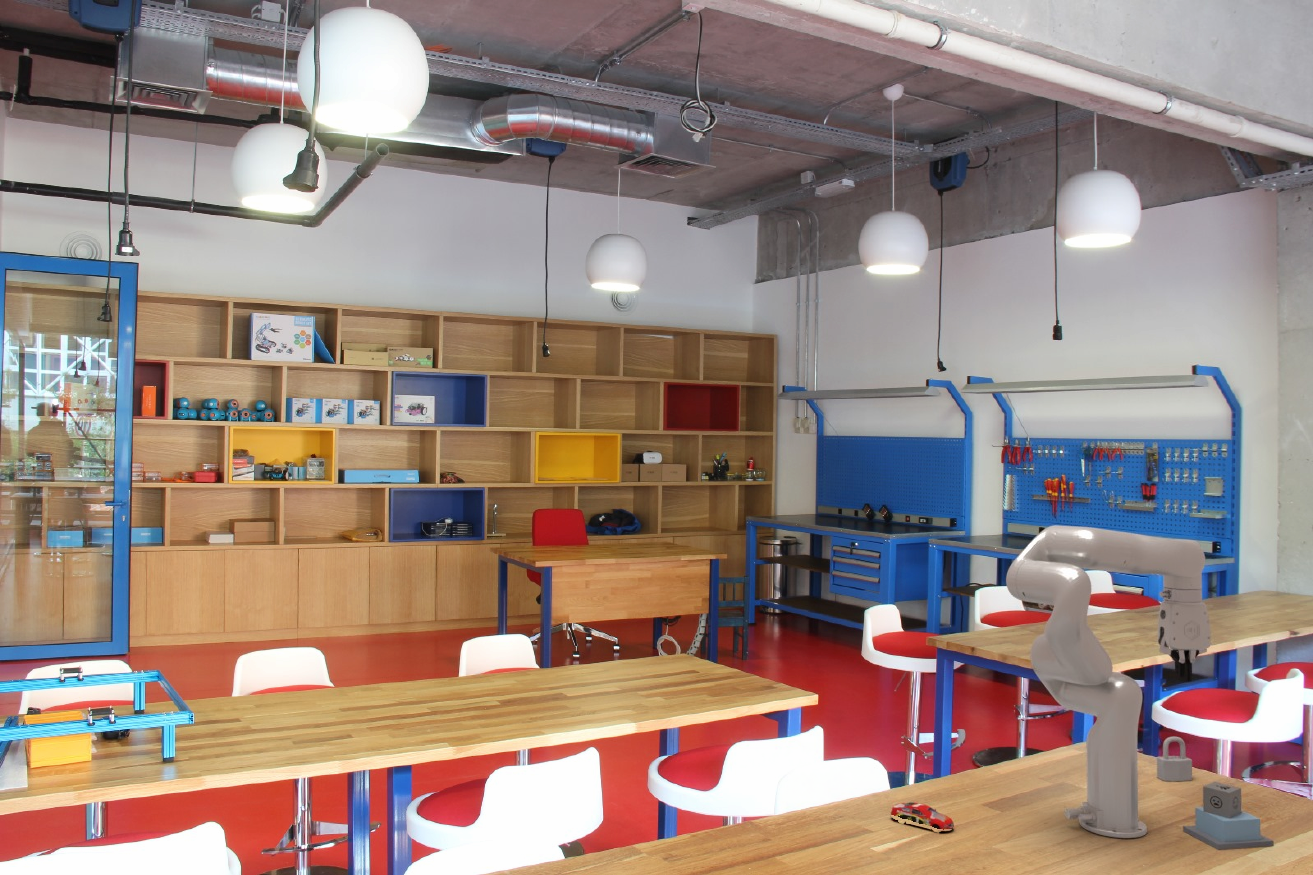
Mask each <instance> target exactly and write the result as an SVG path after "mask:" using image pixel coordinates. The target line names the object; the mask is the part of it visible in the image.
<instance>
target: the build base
mask: <svg viewBox="0 0 1313 875" xmlns="http://www.w3.org/2000/svg"><path fill="white" fill-rule="evenodd" d="M1194 810H1195V811H1194V812H1195V815H1194V816H1195V817H1194V818H1195V819H1194V820H1195V822H1194V823H1195V824H1194V825H1183V826H1182V827H1183V828H1182V830H1183V831H1182V832H1183V833H1186V834H1188V835H1190V836H1191V837H1193V838H1194V839H1195V838H1196V839H1197V840H1199V841H1201V842H1203V843H1205V844H1206V845H1208V846H1211V847H1212V848H1214V849H1215V850H1218V851H1219V850H1221V851H1222V850H1233V849H1234V850H1235V849H1250V848H1263V847H1265V848H1266V847H1274V845H1275V844H1274V843H1275V842H1274V840H1273V839H1270V838H1268V837H1267V836H1265V835H1263V834H1261V818H1259V817H1257V816H1255V815H1253V814H1250V813H1249V812H1246V811H1244V810H1242V809H1241V812H1242V813H1241V814H1239V815H1237V816H1235V817H1233V818H1230V819H1229V818H1225V817H1222V816H1218V815H1214V814H1210V813H1207V812H1203V806H1196V807H1195V808H1194Z"/></svg>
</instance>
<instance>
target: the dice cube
mask: <svg viewBox="0 0 1313 875" xmlns="http://www.w3.org/2000/svg"><path fill="white" fill-rule="evenodd" d="M1202 796H1203V798H1202V802H1203V803H1202V804H1203V806H1202V807H1203V812H1207V813H1210V814H1214V815H1218V816H1222V817H1225V818H1229V819H1230V818H1233V817H1235V816H1237V815H1239V814H1241V813H1242V812H1241V810H1242V787H1238V786H1234V785H1230V784H1226V783H1222V782H1218V781H1213V782H1211V783H1208V784H1205V785H1203V786H1202Z"/></svg>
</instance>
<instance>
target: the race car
mask: <svg viewBox="0 0 1313 875" xmlns="http://www.w3.org/2000/svg"><path fill="white" fill-rule="evenodd" d="M891 815H894V816H898V817H900V818H902V819H908V820H911V821H913V822H916V823H919V824H925V825H928V826H932V827H934V828H937V829H943V830H944V829H953V827H954V828H955V824H954V821H953V819H952V817H950V816H947V815H946V814H942V813H940V812H938V811H937V809H936V808H933V807H931V806H929V805H927V804H924V803H920V802H910V801H908V802H906V803H904V802H903V803H901V802H900V803H896V804H895V805H893V806H892V808H891V811H890V816H891ZM899 815H900V816H899ZM953 830H954V829H953Z"/></svg>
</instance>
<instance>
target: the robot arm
mask: <svg viewBox="0 0 1313 875" xmlns="http://www.w3.org/2000/svg"><path fill="white" fill-rule="evenodd" d="M1205 564H1206V556H1205V553H1204V550H1203V549H1202V547H1201V544H1200V543H1199V542H1198V541H1197V540H1195V539H1194V540H1193V539H1186V538H1185V539H1183V538H1180V539H1179V538H1177V539H1176V538H1175V539H1174V538H1173V539H1171V538H1166V537H1165V538H1163V537H1158V536H1157V537H1156V536H1151V535H1146V534H1140V533H1133V532H1125V531H1119V530H1111V529H1106V528H1105V529H1104V528H1096V527H1090V526H1089V527H1088V526H1076V525H1075V526H1074V525H1072V526H1071V525H1058V524H1055V525H1050V526H1048V527H1046V528H1045V529H1043V530H1041V531H1040V532H1039V533H1038V534H1037V535H1036V536H1035V537H1033V539H1032V540H1031V541H1030V542H1029V543H1028V544H1027V546H1026V547H1024V548H1023V550H1022V551H1021V552H1020V553H1019V555H1018V556H1017V557H1016V558H1015V559H1014V560H1013V562H1012V563H1011V565H1010V566H1009V567H1008V569H1007V573H1006V578H1005V580H1006V581H1005V583H1006V589H1007V590H1008V592H1009V593H1010V595H1011V596H1012V597H1014V598H1015V599H1017V600H1018V601H1022V602H1028V603H1035V604H1041V605H1047V606H1048V605H1050V606H1053V608H1052V612H1051V615H1050V617H1049V618H1048V619H1047V621H1046V623H1045V626H1044V630H1043V631H1044V633H1042V634H1040V635H1038V636H1037V637H1036V638H1035V639H1034V640H1033V642H1032V644H1031V646H1030V652H1029V654H1030V664H1031V667H1032V670H1033V672H1034V673H1035V674H1036V676H1037V678H1038V679H1039V680H1040V682H1041V683H1042V684H1043V686H1044V687H1045V688H1046V690H1047V691H1048V692H1049V694H1050V695H1051V696H1052V698H1054V700H1055V701H1056V702H1057V703H1058V704H1059V705H1060V706H1062V707H1063V708H1065V709H1067V710H1070V711H1074V712H1078V713H1082V714H1086V715H1090V716H1092V717H1096V721H1095V722H1094V724H1093V725H1092V726H1091V727H1090V729H1089V731H1088V733H1087V736H1086V742H1085V744H1086V799H1087V800H1086V801H1082V802H1081V806H1079V807H1078V808H1065V810H1064V815H1065V817H1066V819H1068V820H1071V819H1074V820H1075V819H1078V821H1079V825H1080V826H1081V827H1082V828H1083V829H1085V830H1086V831H1089V832H1091V833H1093V834H1096V835H1100V836H1104V837H1108V838H1109V837H1111V838H1117V839H1134V838H1140V837H1144V836H1145V835H1146V834H1147V833H1148V832H1147V831H1148V827H1147V824H1146V823H1144V821H1142V820H1140V819H1139V787H1138V786H1139V783H1138V781H1139V780H1138V779H1139V778H1138V777H1139V776H1138V775H1139V773H1138V772H1139V771H1138V769H1139V768H1138V765H1139V764H1138V731H1139V730H1138V728H1139V722H1140V721H1139V720H1140V715H1141V710H1142V704H1143V692H1142V688H1141V686H1140V684H1139V683H1138V682H1137V681H1136V680H1135V679H1134V678H1132V677H1131V676H1128V675H1126V674H1123V673H1120V672H1116V671H1113V662H1112V659H1111V657H1110V655H1109V653H1108V652H1107V650H1106V648H1104V646H1103V645H1102V643H1101V642H1100V640H1099V639H1098V637H1097V636H1096V634H1094V632H1093V631H1092V629H1091V627H1090V626H1089V624H1088V620H1087V619H1088V612H1089V611H1088V610H1089V606H1090V600H1091V595H1092V582H1091V579H1090V576H1089V575H1088V573H1087V571H1085V570H1090V571H1091V570H1092V571H1102V572H1109V573H1110V572H1111V573H1117V574H1118V573H1120V574H1130V575H1158V576H1163V577H1162V579H1163V580H1162V582H1163V584H1162V586H1163V588H1162V591H1159V593H1158V595H1159V598H1162V601H1161V602H1160V606H1159V611H1158V618H1157V620H1158V621H1157V643H1158V644H1159V649H1158V650H1159V653H1161V654H1165V655H1168V656H1170V658H1171V660H1172V661H1173V662H1174V676H1175V679H1176V680H1178V681H1180V682H1184V683H1185V682H1189V683H1190V682H1192V681H1193V664H1194V663H1195V662H1196V658H1198V656H1199V655H1201V654H1205V653H1207V652H1208V649H1209V648H1210V647H1211V645H1212V638H1211V637H1212V635H1211V633H1212V632H1211V624H1210V623H1211V622H1210V616H1209V612H1208V607H1207V604H1206V603H1205V602H1203V589H1202V588H1203V581H1202V580H1203V578H1202V577H1203V575H1202V572H1203V570H1204V568H1205V566H1206V565H1205ZM1084 569H1085V570H1084Z"/></svg>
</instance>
